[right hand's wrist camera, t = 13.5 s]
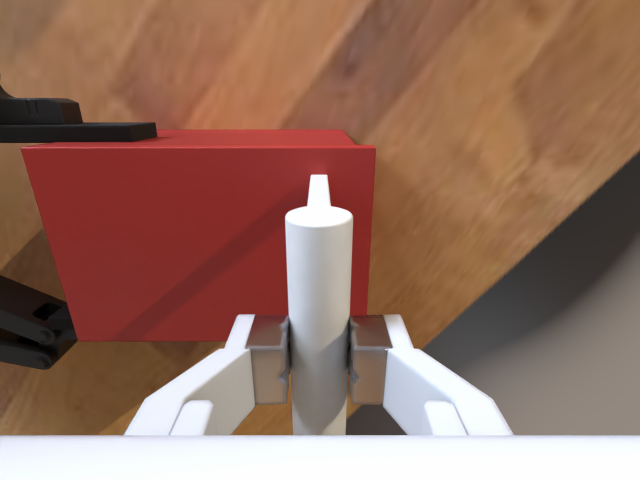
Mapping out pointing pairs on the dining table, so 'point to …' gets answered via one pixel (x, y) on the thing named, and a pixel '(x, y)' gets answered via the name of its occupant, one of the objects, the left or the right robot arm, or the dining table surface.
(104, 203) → the lid
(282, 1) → the dining table surface
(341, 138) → the chest
